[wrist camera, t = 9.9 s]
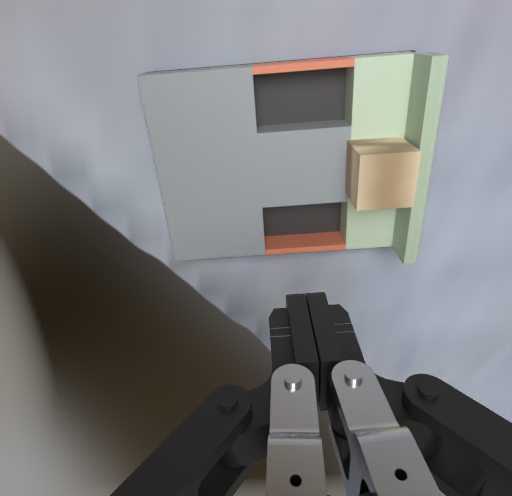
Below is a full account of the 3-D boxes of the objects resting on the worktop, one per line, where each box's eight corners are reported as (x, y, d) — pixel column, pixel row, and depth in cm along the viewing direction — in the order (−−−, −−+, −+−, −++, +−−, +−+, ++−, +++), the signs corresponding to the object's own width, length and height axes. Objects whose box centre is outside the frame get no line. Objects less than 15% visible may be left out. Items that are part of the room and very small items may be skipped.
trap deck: (180, 244, 36) (168, 280, 31) (147, 72, 29) (124, 81, 24) (392, 229, 36) (416, 263, 31) (413, 50, 29) (449, 54, 23)
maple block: (344, 190, 31) (356, 210, 27) (347, 140, 29) (360, 155, 25) (394, 187, 31) (413, 207, 27) (400, 136, 29) (421, 151, 25)
